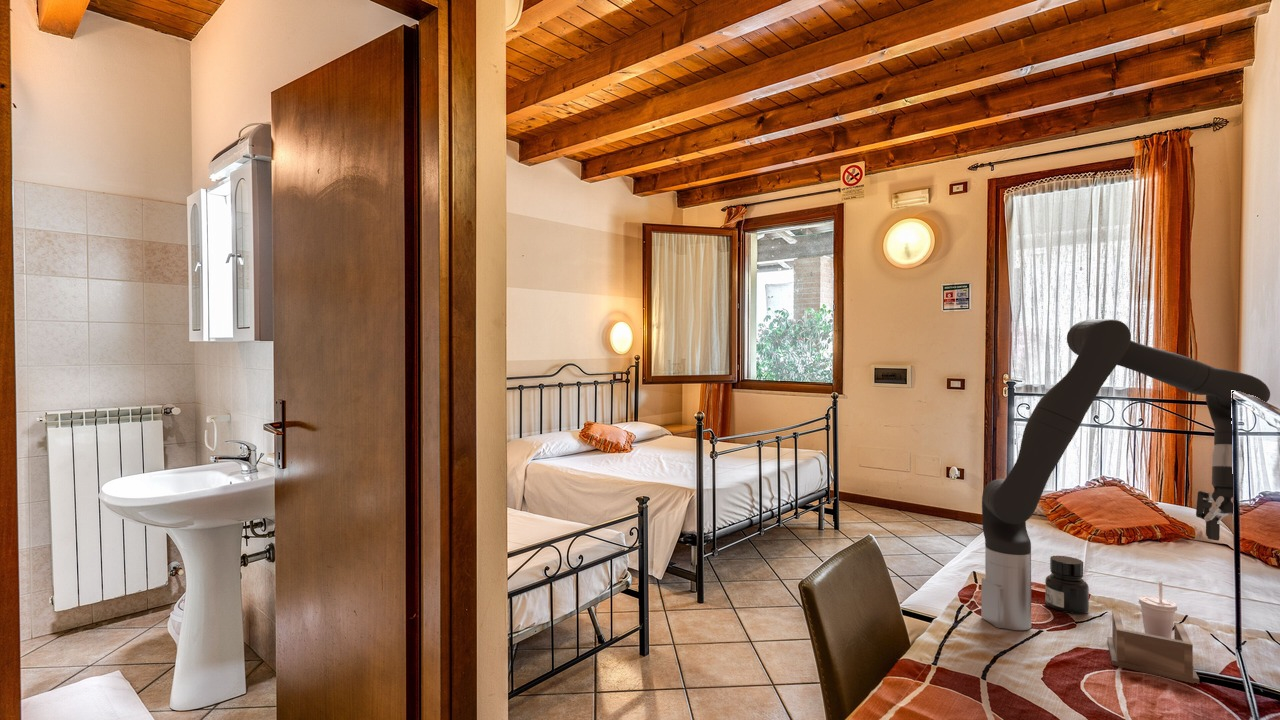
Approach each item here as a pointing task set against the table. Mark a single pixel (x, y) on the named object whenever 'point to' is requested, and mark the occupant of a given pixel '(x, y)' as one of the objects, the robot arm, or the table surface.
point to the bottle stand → (1152, 652)
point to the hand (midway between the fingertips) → (1234, 543)
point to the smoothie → (1158, 614)
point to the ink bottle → (1067, 586)
